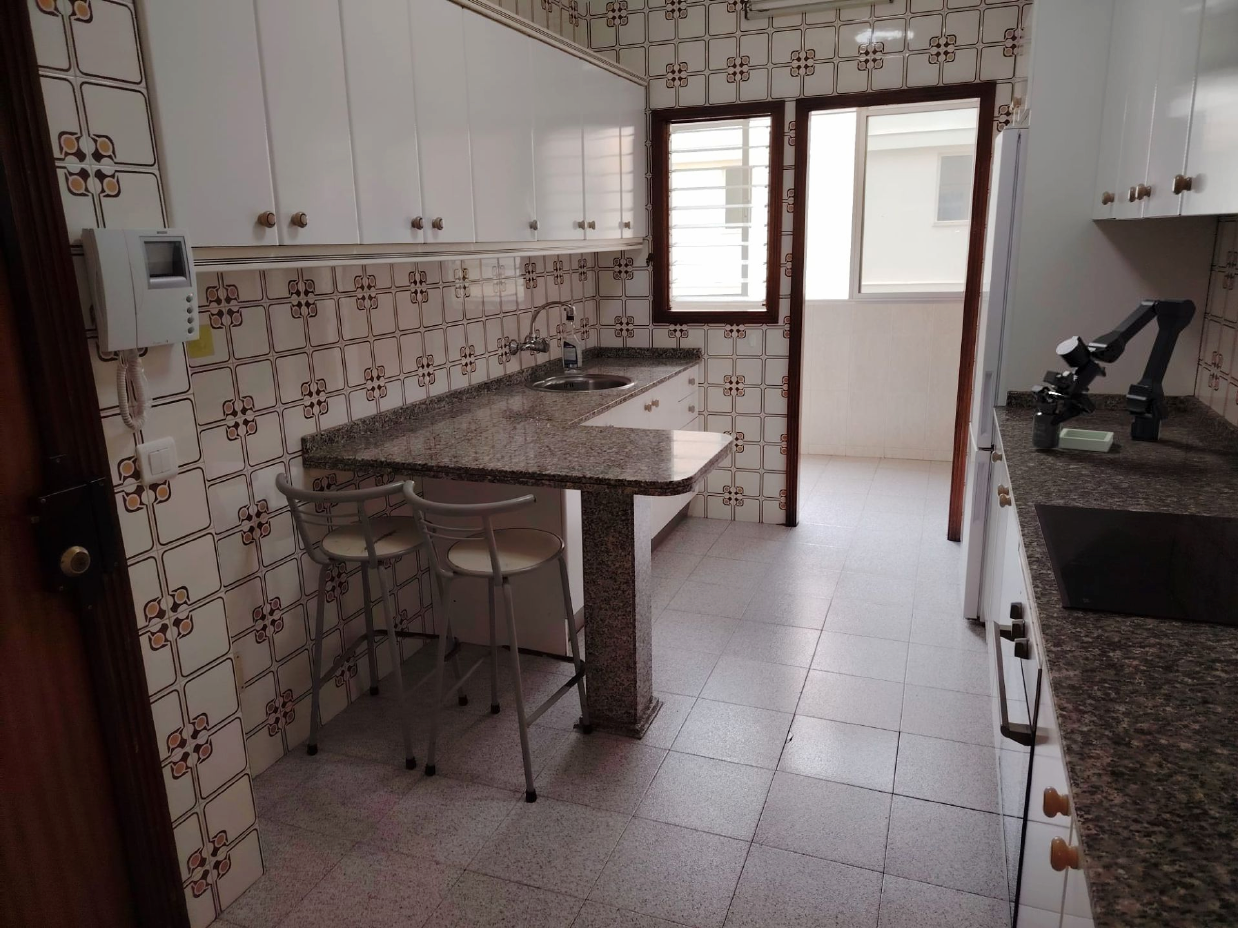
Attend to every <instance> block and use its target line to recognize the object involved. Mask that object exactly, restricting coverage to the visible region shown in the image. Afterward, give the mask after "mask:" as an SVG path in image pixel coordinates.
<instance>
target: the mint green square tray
mask: <svg viewBox="0 0 1238 928" xmlns="http://www.w3.org/2000/svg"><path fill="white" fill-rule="evenodd" d="M1113 439H1114V432H1111V431H1101V430H1099V431H1098V430H1089V429H1078V428H1077V429H1074V428H1066V427H1065V428H1063V429H1062V430H1061V431H1060V441H1059V446H1058V447H1057V448H1060V449H1061V448H1062V449H1072V450H1081V451H1082V450H1083V451H1084V450H1085V451H1093V452H1094V451H1095V452H1103V453H1104V452H1105V453H1108V452H1109V449H1110V448H1111V446H1112V445H1113Z"/></svg>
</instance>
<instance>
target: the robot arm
mask: <svg viewBox="0 0 1238 928" xmlns="http://www.w3.org/2000/svg"><path fill="white" fill-rule="evenodd" d="M1196 311H1197V307H1196V304H1195V302H1194V301H1193V300H1192V299H1186V298H1184V299H1183V298H1171V297H1170V298H1166V299H1164V300H1162V299H1155V298H1153V299H1151V298H1146V299H1143V301H1141V303H1140V304H1139V306H1138V307H1136V309H1135V310H1133V312H1131V313H1130V314H1129V315H1128V316H1127V317H1125V319H1124V320H1123V321H1121V322H1120V323H1119V324H1118V325H1117V326H1116V327H1115V328H1113V329H1112V330H1111V331H1110V332H1108V333H1106V334H1103V335H1100V336H1098V337H1097V338H1095V339H1093V340H1092V341H1090V343H1089V344H1085V342H1084V341H1083V339H1082V338H1081V336H1078V335H1073V336H1072V337H1071V338H1068V339H1065V340H1064V341H1063V342H1062V343H1061V342H1060V343H1059V345H1057V347H1056V350H1055V351H1056V354H1057V355H1058V356H1059V357H1060V358H1061V360H1062V361H1063V362H1064V363H1065V365H1066V366H1067V367H1068V368H1070V369H1071V368H1072V370H1071V371H1064V372H1058V371H1054V370H1049V369H1048V370H1046V373H1045V375H1044V377H1043V378H1042V382H1043V383H1047V384H1049V385H1051V389H1052V390H1053V391H1054V392H1053V391H1052V390H1051V389H1050V388H1049V386H1047V385H1042V384H1034V385H1033V387H1032V388H1031V389H1030V392H1031V394H1032V395H1033V396H1034V398H1035V399H1036V400H1037V403H1036V406H1035V410H1034V412H1033V415H1032V417H1031V420H1032V421H1033V418H1034V414H1035V413H1037V412H1038V411H1039V410H1038V407H1039V402H1056V401H1057V402H1061V403H1062V407H1061V408H1060V410H1058V411H1057V412H1058V414H1057V415H1056V416H1055V418H1054V419H1053V421H1052V422H1051V425H1052V426H1056V425H1058V424H1060V423H1061V424H1062V423H1064V422H1067V421H1069V420H1071V419H1075V418H1077V417H1080V416H1083V415H1090V416H1092V415H1093V414H1094V413H1095V412H1096V410H1097V403H1096V402H1095V401H1094V400H1093V399H1092V397H1091V396H1090V395H1089V394H1087V393H1089V392H1090V388H1089V386H1090V385H1091V384H1092V382H1093V381H1094V380H1096V378H1097V377H1102V378H1106V377H1107V372H1106V366H1102V365H1100V363H1105V364H1114V363H1115V362H1117V360H1119V358H1120V357H1121V356H1122V355H1123V353H1124V352H1125V350H1126V345H1127V344H1128V343H1129V341H1131V340H1132V339H1133V338H1134V337H1135V336H1136V335H1137V334H1138V333H1140V331H1141V330H1143V329H1144V328H1145V327H1147V325H1148V324H1150V322H1152V321H1153V320H1154V318H1156V323H1157V326H1158V331H1157V333H1156V337H1155V340H1154V343H1153V346H1152V349H1151V351H1150V354H1149V357H1148V359H1147V362H1146V365H1145V368H1144V371H1143V374H1142V377H1141V379H1140V380H1139V381H1138V382H1137V383H1131V384H1130V385H1129V387H1128V392H1127V394H1126V396H1125V398H1126V399H1125V404H1126V406H1127V410H1128V416H1132V417H1134V419H1133V420H1131V422H1130V423H1131V424H1130V432H1129V436H1130V437H1131V439H1130V440H1136V441H1146V442H1147V441H1148V442H1159V440H1160V436H1161V435H1160V432H1161V423H1162V421H1164V420H1168V418H1169V416H1170V414H1171V411H1170V410H1169V409H1168V408H1167V406H1166V405H1165V404H1164V403H1163V401H1164V398H1165V392H1164V388H1163V384H1162V383H1163V382H1164V379H1165V375H1166V373H1167V369H1168V367H1169V364H1170V361H1171V358H1172V355H1173V352H1174V349H1175V347H1176V344H1177V341H1178V339H1179V337H1180V336H1179V335H1180V334H1181V332H1183V330H1185V329H1186V328H1187V327H1188V326H1190V324H1191V321H1192V320H1193V317H1194V316H1195V314H1196Z"/></svg>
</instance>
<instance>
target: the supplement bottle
mask: <svg viewBox="0 0 1238 928" xmlns="http://www.w3.org/2000/svg"><path fill="white" fill-rule="evenodd" d="M1038 410H1039V411H1038V412H1037V413H1035V414H1034V413H1033V415H1034V418H1033V420H1032V421H1033V422H1032V433H1031V446H1032V447H1034V448H1038V449H1046V450H1047V449H1049V450H1050V449H1057V448H1059V447H1058V446H1059V441H1060V433H1061V431H1062V430H1061V429H1062V428H1061V427H1062V423H1060V424H1058V425H1056V426H1052V425H1051V422H1052V421H1053V419H1054V418H1055V416H1056V415H1057V414H1058V412H1059V402H1056V401H1055V402H1039V407H1038Z"/></svg>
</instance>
